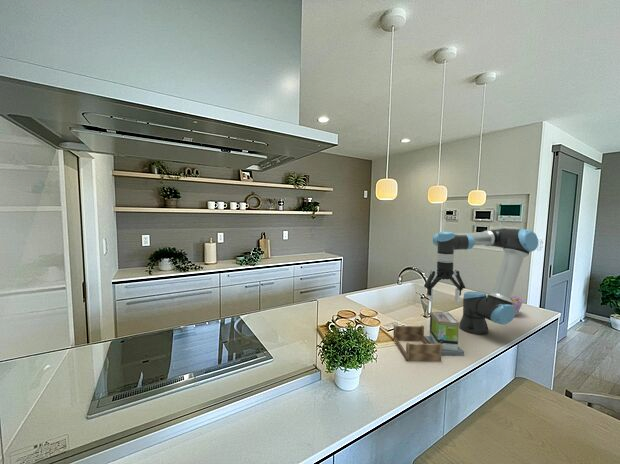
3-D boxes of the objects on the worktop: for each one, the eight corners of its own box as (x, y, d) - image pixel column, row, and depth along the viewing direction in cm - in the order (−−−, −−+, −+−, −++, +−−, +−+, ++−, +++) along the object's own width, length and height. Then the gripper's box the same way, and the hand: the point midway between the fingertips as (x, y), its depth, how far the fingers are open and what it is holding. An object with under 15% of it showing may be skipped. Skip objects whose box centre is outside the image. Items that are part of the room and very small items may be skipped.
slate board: (446, 339, 146) (446, 336, 146) (464, 355, 129) (464, 351, 129) (423, 339, 146) (423, 335, 146) (437, 355, 129) (437, 351, 129)
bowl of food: (480, 310, 191) (481, 294, 191) (500, 307, 197) (501, 292, 197) (508, 320, 172) (509, 303, 172) (529, 317, 178) (530, 300, 178)
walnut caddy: (422, 339, 145) (423, 325, 145) (441, 361, 124) (442, 344, 123) (393, 339, 146) (393, 325, 145) (406, 361, 124) (407, 344, 124)
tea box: (458, 351, 129) (459, 322, 128) (437, 349, 131) (437, 321, 130) (448, 337, 144) (449, 311, 143) (428, 336, 146) (429, 310, 145)
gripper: (465, 260, 138) (463, 299, 139) (418, 260, 139) (417, 299, 140) (473, 262, 131) (472, 303, 132) (424, 262, 131) (423, 303, 132)
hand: (444, 301), depth 136 cm, fingers open, 13 cm apart
